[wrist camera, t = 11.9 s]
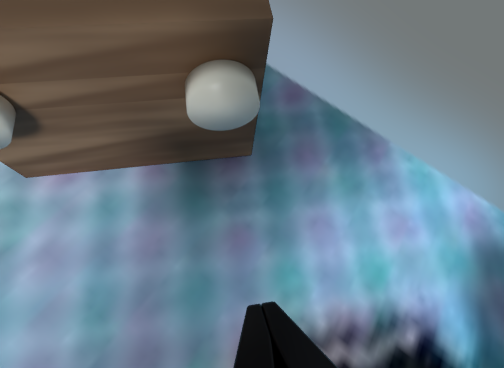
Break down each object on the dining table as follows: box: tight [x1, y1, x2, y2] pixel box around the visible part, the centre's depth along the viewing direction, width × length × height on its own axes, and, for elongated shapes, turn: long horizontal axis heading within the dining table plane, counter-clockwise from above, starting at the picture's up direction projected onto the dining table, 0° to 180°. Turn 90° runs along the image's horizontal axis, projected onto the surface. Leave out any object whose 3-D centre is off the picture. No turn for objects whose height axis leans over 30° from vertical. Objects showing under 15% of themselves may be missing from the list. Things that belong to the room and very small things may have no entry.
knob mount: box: [0, 0, 273, 178], centre depth 19 cm, size 5×18×13 cm, turn 99°
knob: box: [185, 60, 260, 131], centre depth 17 cm, size 8×4×4 cm, turn 9°
